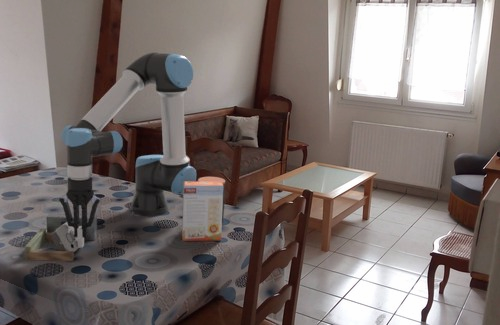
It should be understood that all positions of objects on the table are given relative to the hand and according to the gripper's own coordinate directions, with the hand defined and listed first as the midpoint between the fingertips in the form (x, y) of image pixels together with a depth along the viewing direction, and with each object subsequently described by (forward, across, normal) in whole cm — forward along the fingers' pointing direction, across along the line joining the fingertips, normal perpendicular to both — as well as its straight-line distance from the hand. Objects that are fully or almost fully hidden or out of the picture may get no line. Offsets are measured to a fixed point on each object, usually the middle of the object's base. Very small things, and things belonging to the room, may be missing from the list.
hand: (80, 246), depth 170 cm
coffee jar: (+2, -43, -29) cm, 52 cm away
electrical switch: (+2, +3, +1) cm, 4 cm away
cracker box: (+2, -40, -14) cm, 42 cm away
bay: (+2, +8, 0) cm, 8 cm away
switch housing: (+1, +6, -11) cm, 13 cm away
